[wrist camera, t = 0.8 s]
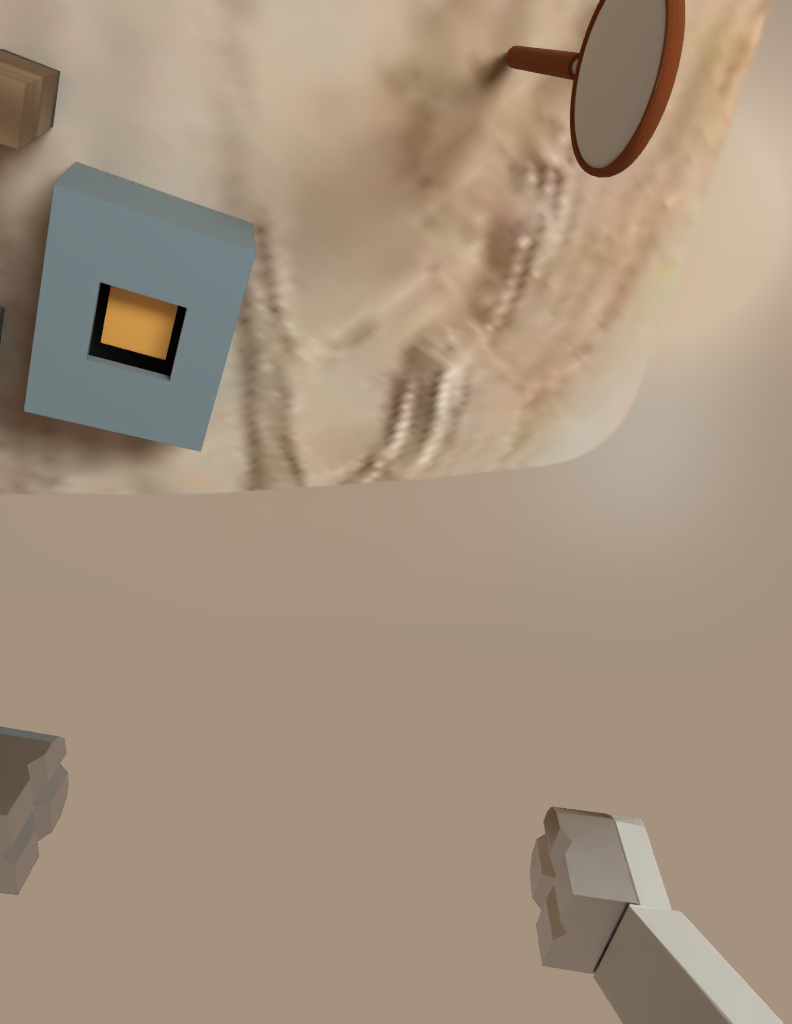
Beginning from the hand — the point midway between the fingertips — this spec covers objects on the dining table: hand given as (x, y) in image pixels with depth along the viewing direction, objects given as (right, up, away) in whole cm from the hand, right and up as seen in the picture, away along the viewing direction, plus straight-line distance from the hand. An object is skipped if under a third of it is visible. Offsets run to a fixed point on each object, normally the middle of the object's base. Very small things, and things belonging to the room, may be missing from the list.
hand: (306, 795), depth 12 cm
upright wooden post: (-20, +29, +29) cm, 46 cm away
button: (-15, +18, +35) cm, 43 cm away
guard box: (-16, +20, +37) cm, 45 cm away
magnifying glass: (+9, +34, +33) cm, 48 cm away
